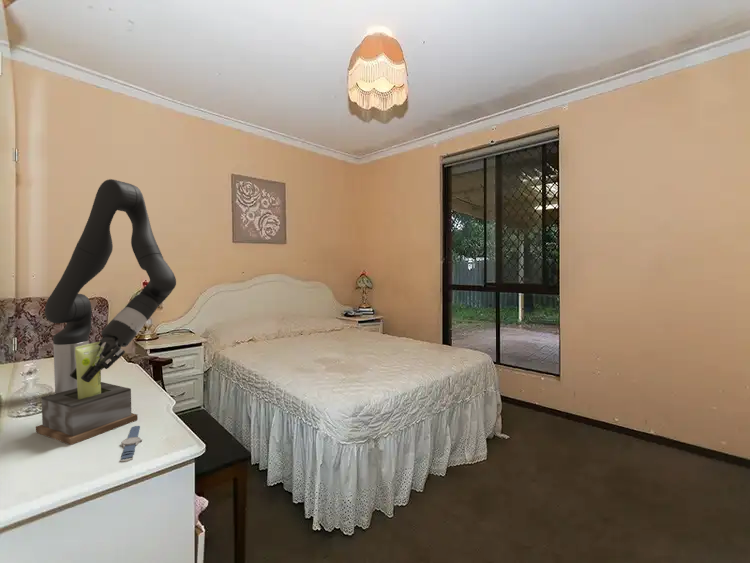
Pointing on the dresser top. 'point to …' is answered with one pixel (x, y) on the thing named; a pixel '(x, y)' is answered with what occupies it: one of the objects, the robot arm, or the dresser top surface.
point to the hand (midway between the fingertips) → (79, 379)
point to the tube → (83, 363)
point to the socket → (85, 413)
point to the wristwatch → (130, 444)
